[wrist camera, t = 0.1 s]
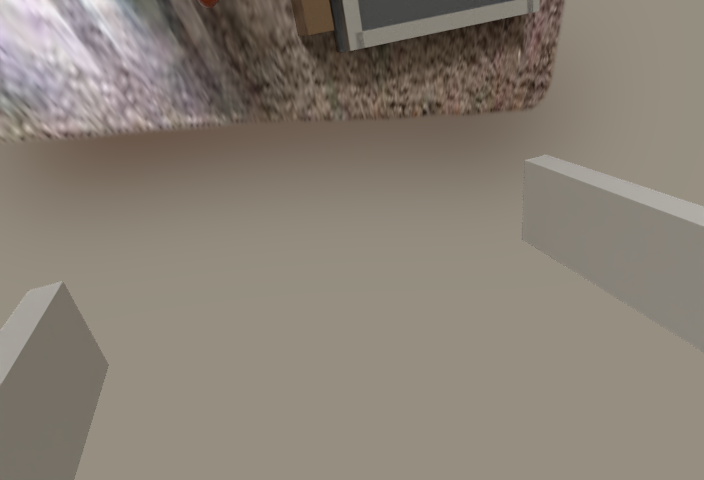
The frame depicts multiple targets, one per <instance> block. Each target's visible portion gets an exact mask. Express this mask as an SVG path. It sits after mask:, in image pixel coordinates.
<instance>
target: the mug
mask: <svg viewBox="0 0 704 480" xmlns="http://www.w3.org/2000/svg"><path fill="white" fill-rule="evenodd" d="M197 1H198V2H199V3H200V4H201V5H202V6H203V7H205V8H207V9H208V8H212V7H213V6H214V5H215V4H216V3H217V2H218V1H219V0H197Z"/></svg>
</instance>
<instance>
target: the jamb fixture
mask: <svg viewBox="0 0 704 480" xmlns="http://www.w3.org/2000/svg"><path fill="white" fill-rule="evenodd" d="M291 3H292V7H293V12H294V17H295V22H296V27H297V31H298V36H306V35H313V34H318V33H323V32H328V31H334V37H335V43H336V48H337V52H345V51H353V50H357V49H362V48H367V47H371V46H376V45H381V44H386V43H390V42H395V41H400V40H404V39H409V38H414V37H419V36H423V35H428V34H433V33H438V32H442V31H447V30H452V29H456V28H461V27H466V26H471V25H475V24H480V23H485V22H489V21H494V20H499V19H504V18H508V17H513V16H518V15H523V14H527V13H532V12H537V11H539V0H291Z"/></svg>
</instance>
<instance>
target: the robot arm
mask: <svg viewBox="0 0 704 480" xmlns="http://www.w3.org/2000/svg"><path fill="white" fill-rule="evenodd" d="M524 168H525V169H524V195H523V223H522V224H523V225H522V240H524V241H526V242H528V243H529V244H531V245H532V246H534V247H535V248H537V249H539V250H540V251H542V252H543V253H545V254H547V255H548V256H550V257H551V258H553V259H555V260H556V261H558V262H559V263H561V264H563V265H564V266H566V267H567V268H569V269H571V270H572V271H574V272H575V273H577V274H579V275H580V276H582V277H583V278H585V279H587V280H588V281H590V282H591V283H593V284H595V285H596V286H598V287H599V288H601V289H603V290H604V291H606V292H607V293H609V294H611V295H612V296H614V297H616V298H617V299H619V300H620V301H622V302H624V303H625V304H627V305H628V306H630V307H631V308H633V309H635V310H636V311H638V312H639V313H641V314H643V315H644V316H646V317H648V318H649V319H651V320H652V321H654V322H655V323H657V324H659V325H660V326H662V327H663V328H665V329H667V330H668V331H670V332H672V333H673V334H675V335H676V336H678V337H680V338H681V339H683V340H684V341H686V342H688V343H689V344H691V345H693V346H694V347H696V348H697V349H699V350H700V351H702V352H704V207H703V206H700V205H697V204H694V203H691V202H688V201H685V200H682V199H679V198H676V197H673V196H670V195H667V194H664V193H661V192H658V191H655V190H652V189H649V188H646V187H643V186H640V185H637V184H634V183H631V182H628V181H625V180H622V179H619V178H615V177H613V176H609V175H606V174H603V173H600V172H597V171H594V170H591V169H588V168H585V167H582V166H579V165H576V164H573V163H570V162H567V161H564V160H561V159H558V158H555V157H552V156H549V155H543V156H538V157H535V158H531V159H527V160H525V167H524ZM108 366H109V365H108V363H107V361H106V359H105V357H104V355H103V354H102V352H101V350H100V348H99V346H98V344H97V343H96V341H95V339H94V337H93V335H92V333H91V331H90V330H89V328H88V326H87V324H86V322H85V321H84V319H83V317H82V315H81V313H80V311H79V310H78V308H77V306H76V304H75V302H74V300H73V299H72V297H71V295H70V293H69V291H68V289H67V288H66V286H65V284H64V282H63V281H62V282H58V283H54V284H51V285H47V286H43V287H39V288H36V289H31V290H29V291H28V292H27V294H26V295H25V296H24V298H23V299H22V301H21V302H20V303H19V305H18V306H17V307H16V309H15V310H14V312H13V313H12V314H11V316H10V317H9V319H8V320H7V321H6V323H5V325H4V326H3V327H2V328H1V330H0V480H74V478H75V475H76V472H77V468H78V465H79V462H80V458H81V455H82V452H83V448H84V445H85V442H86V439H87V435H88V432H89V429H90V425H91V422H92V419H93V415H94V412H95V409H96V405H97V402H98V399H99V395H100V392H101V389H102V385H103V382H104V379H105V376H106V372H107V369H108Z"/></svg>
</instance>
